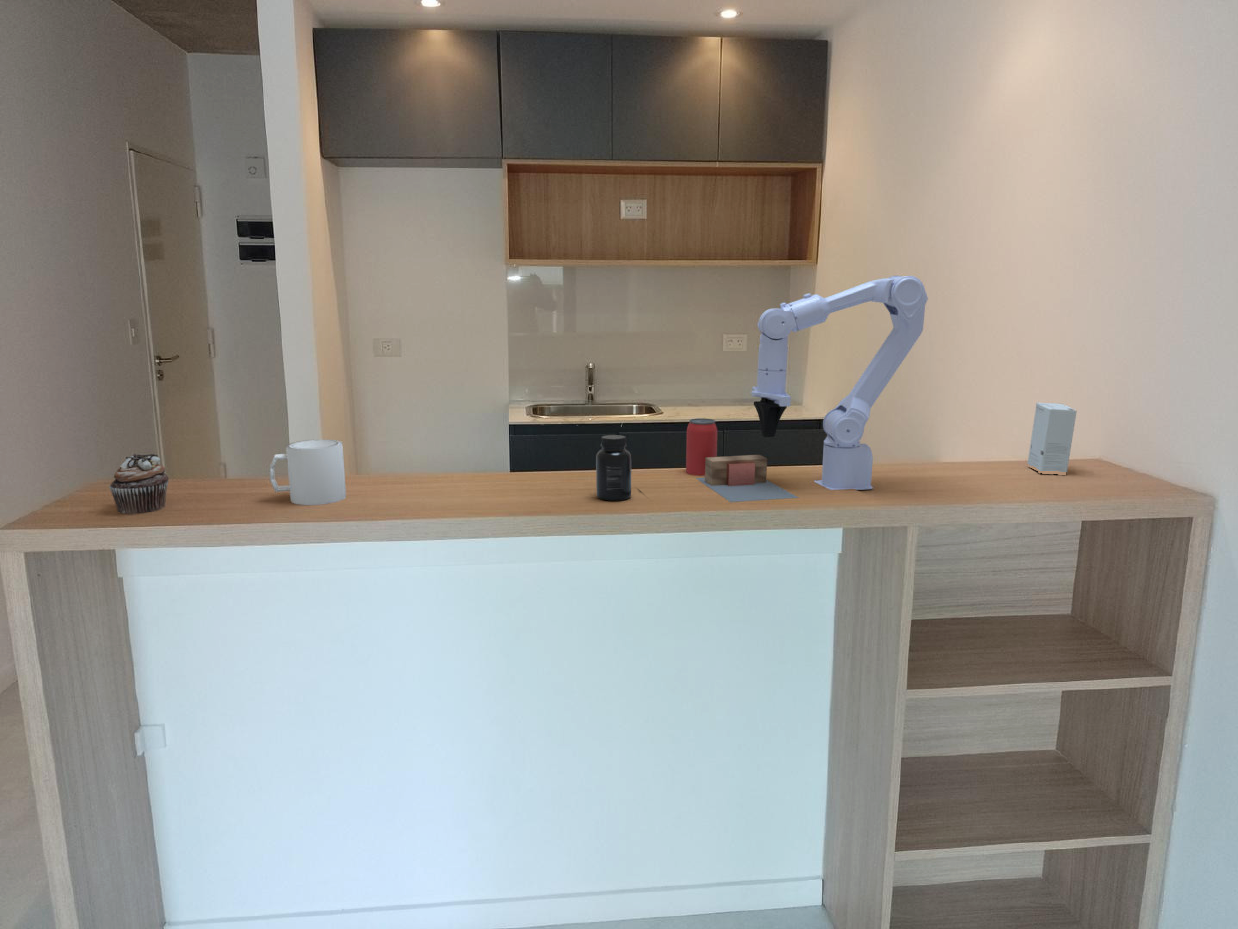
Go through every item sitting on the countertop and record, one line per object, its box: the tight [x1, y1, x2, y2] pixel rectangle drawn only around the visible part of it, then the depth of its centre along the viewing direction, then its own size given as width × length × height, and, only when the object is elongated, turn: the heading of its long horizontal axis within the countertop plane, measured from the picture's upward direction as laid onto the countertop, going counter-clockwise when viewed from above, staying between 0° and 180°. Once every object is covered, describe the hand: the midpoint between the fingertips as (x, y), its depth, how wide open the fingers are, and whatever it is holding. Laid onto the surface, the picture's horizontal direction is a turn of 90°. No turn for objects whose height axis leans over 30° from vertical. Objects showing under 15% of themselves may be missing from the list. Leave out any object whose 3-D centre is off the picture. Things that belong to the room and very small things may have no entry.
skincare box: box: [1026, 402, 1077, 473], centre depth 191 cm, size 8×6×15 cm
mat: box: [695, 477, 799, 503], centre depth 175 cm, size 14×20×1 cm
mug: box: [269, 439, 347, 506], centre depth 166 cm, size 14×10×11 cm
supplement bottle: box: [595, 434, 632, 502], centre depth 168 cm, size 7×7×12 cm
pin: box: [726, 462, 755, 486], centre depth 179 cm, size 7×6×4 cm
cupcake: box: [108, 453, 169, 515], centre depth 160 cm, size 10×10×10 cm
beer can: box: [685, 417, 718, 477], centre depth 187 cm, size 7×7×12 cm
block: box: [704, 454, 768, 486], centre depth 179 cm, size 12×4×5 cm, turn 104°
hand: (768, 436), depth 176 cm, fingers closed
